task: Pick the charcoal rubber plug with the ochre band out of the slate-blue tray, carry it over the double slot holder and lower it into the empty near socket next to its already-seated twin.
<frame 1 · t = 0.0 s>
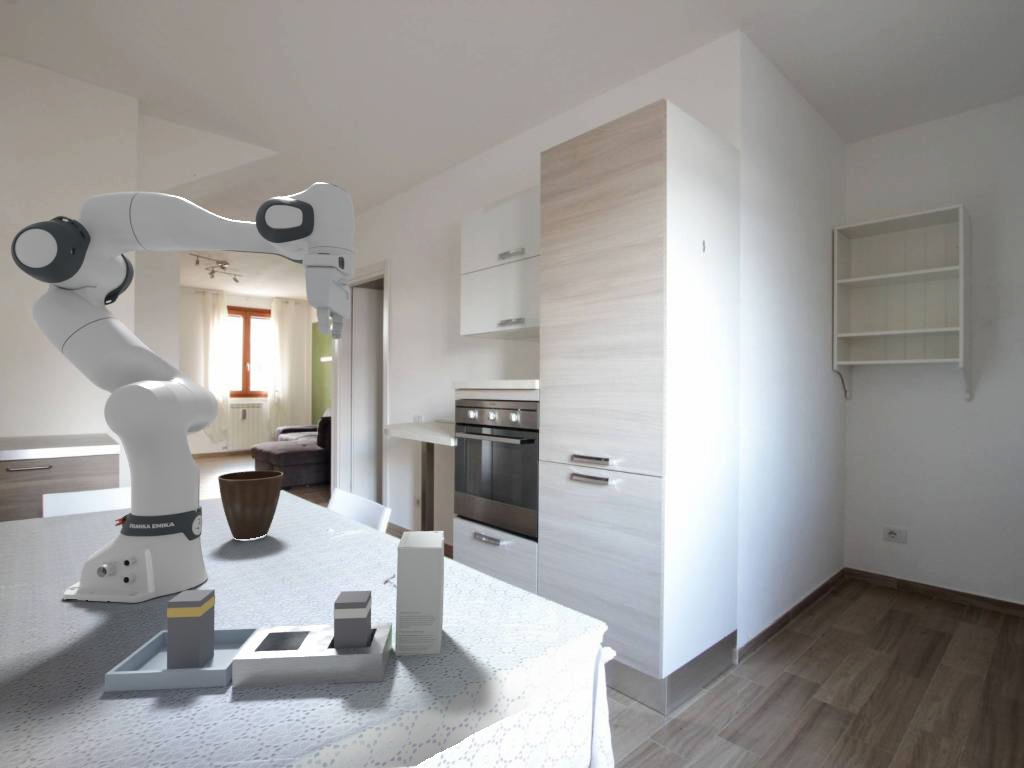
hand: (331, 336, 105), 48 cm above the table, fingers open, 8 cm apart
plant pot: (250, 538, 135), on the table
twin plug: (352, 664, 70), resting on double slot holder
plug: (191, 663, 70), point 1 cm above the table, touching tray
skincare box: (421, 646, 77), on the table
double slot holder: (318, 670, 70), on the table
tray: (191, 668, 70), on the table
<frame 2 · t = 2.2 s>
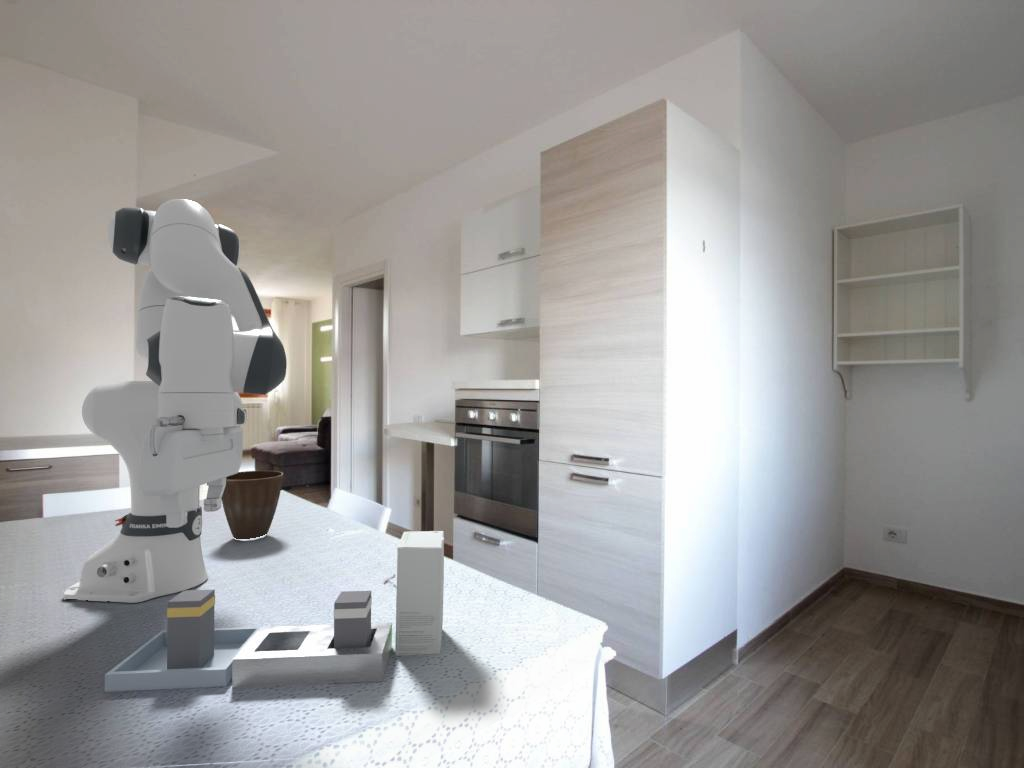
hand: (195, 518, 71), 20 cm above the table, fingers open, 8 cm apart
nothing on the table moved.
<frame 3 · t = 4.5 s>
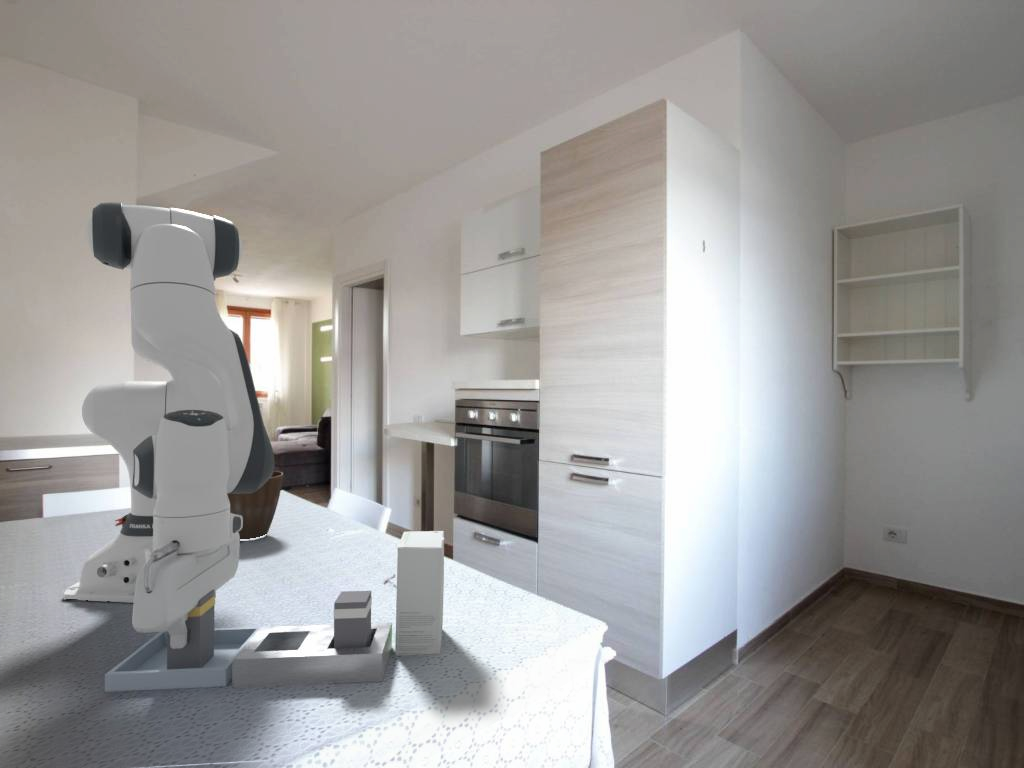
hand: (191, 636, 70), 4 cm above the table, fingers closed on plug, 4 cm apart
plug: (191, 663, 70), point 1 cm above the table, touching gripper, tray
everything else where it was.
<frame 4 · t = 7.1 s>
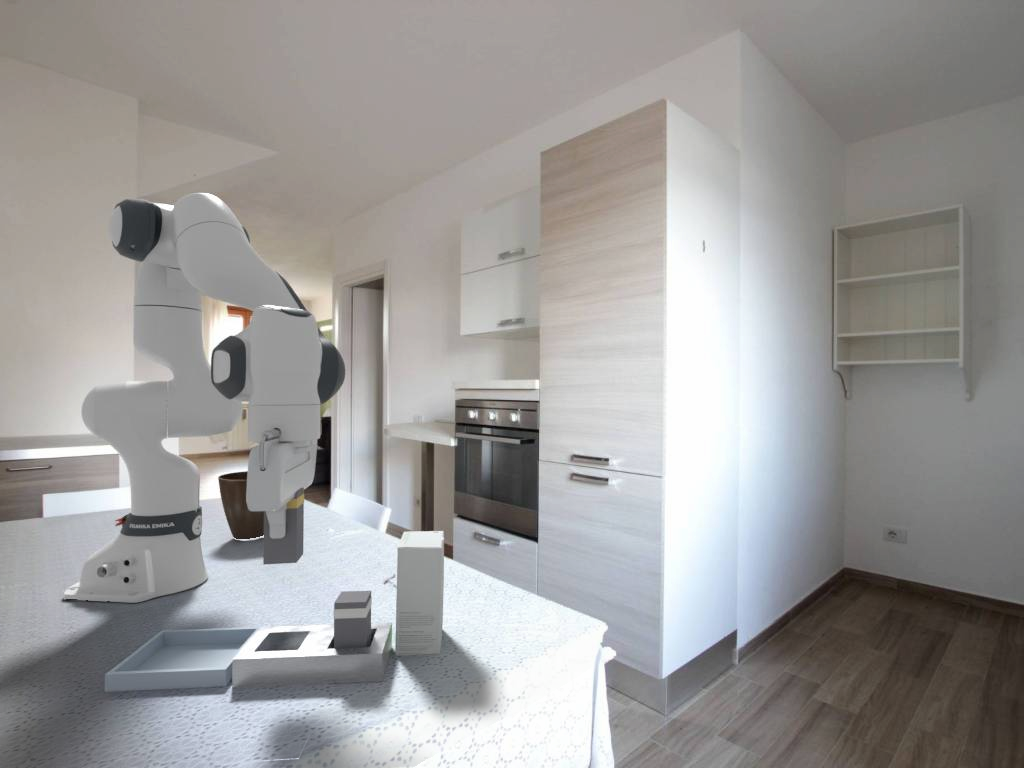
hand: (284, 531, 70), 18 cm above the table, fingers closed on plug, 4 cm apart
plug: (284, 559, 70), point 15 cm above the table, touching gripper
everything else where it was.
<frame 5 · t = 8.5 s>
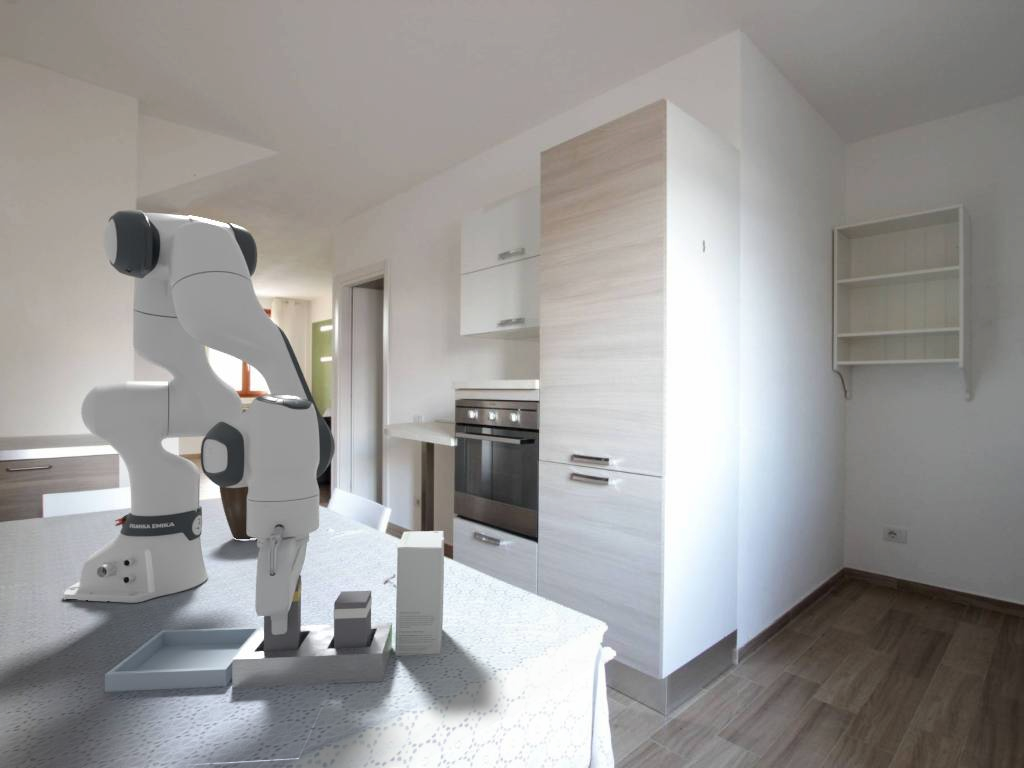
hand: (282, 623, 69), 6 cm above the table, fingers closed on plug, 4 cm apart
plug: (282, 650, 69), point 3 cm above the table, touching gripper
everything else where it was.
when the fingers open (5 cm above the table, at t = 9.4 s): plug drops 1 cm, resting on double slot holder.
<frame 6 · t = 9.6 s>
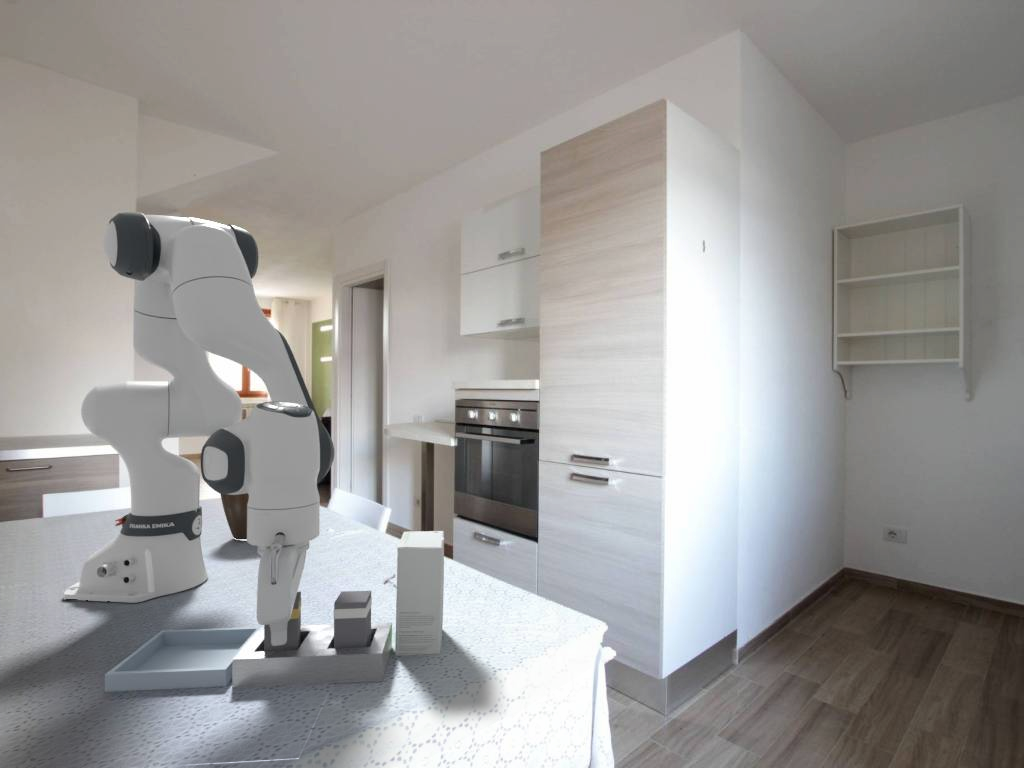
hand: (283, 630, 70), 5 cm above the table, fingers open, 6 cm apart
plug: (282, 667, 70), resting on double slot holder
everything else where it was.
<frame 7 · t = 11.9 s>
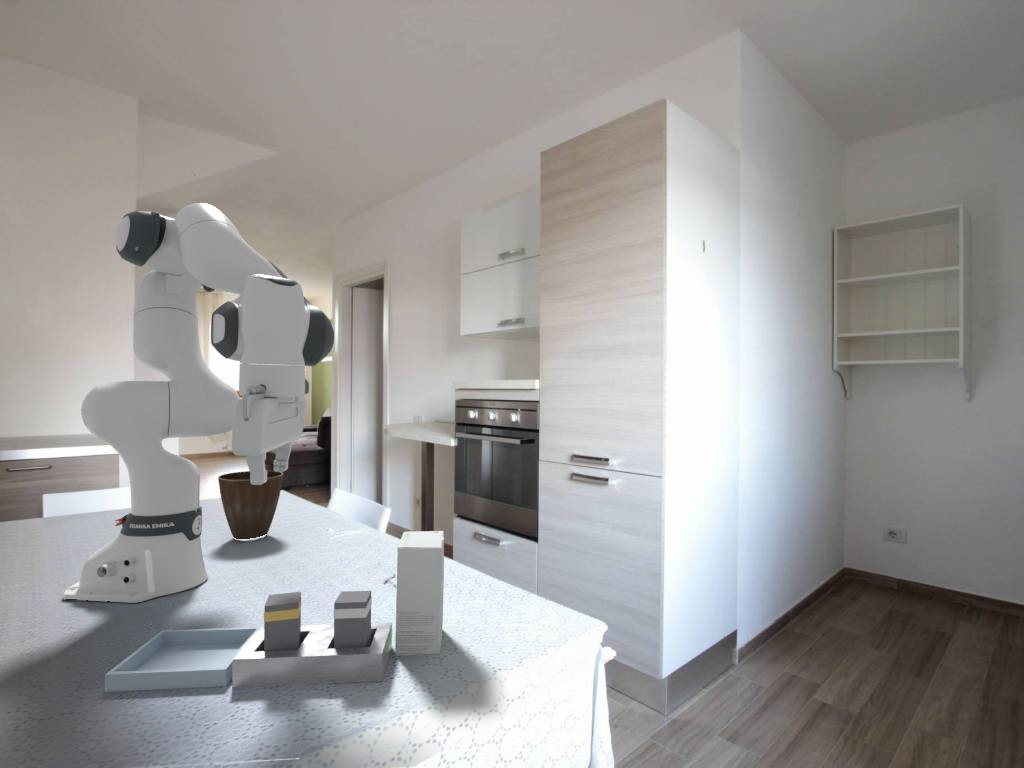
hand: (270, 477, 79), 24 cm above the table, fingers open, 8 cm apart
nothing on the table moved.
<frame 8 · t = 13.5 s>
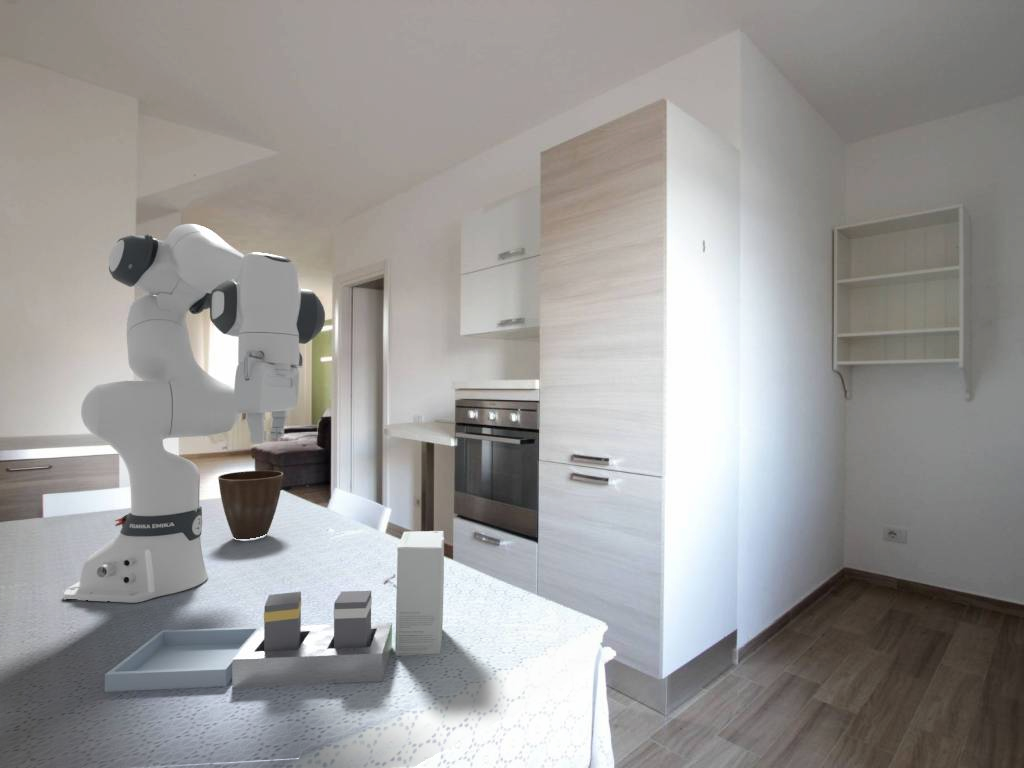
hand: (268, 440, 84), 29 cm above the table, fingers open, 8 cm apart
nothing on the table moved.
at the end: plug 0.1 cm from the target spot on the double slot holder, point 0.5 cm above the double slot holder's base; plug tilted 0°; the gripper is holding nothing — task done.
